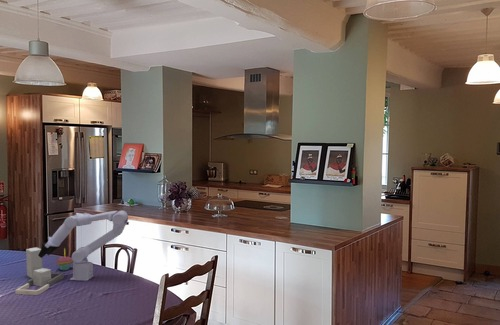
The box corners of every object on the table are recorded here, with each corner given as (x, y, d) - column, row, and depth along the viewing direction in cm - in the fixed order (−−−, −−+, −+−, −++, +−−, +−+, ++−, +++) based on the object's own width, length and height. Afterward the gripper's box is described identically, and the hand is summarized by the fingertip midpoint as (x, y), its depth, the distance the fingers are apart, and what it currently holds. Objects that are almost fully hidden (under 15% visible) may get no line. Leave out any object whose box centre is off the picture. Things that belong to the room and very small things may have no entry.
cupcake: (56, 268, 253) (56, 247, 252) (72, 266, 256) (72, 245, 256) (56, 272, 245) (56, 250, 244) (73, 270, 249) (73, 249, 248)
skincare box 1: (43, 277, 235) (43, 249, 235) (31, 279, 231) (31, 251, 231) (37, 273, 241) (37, 246, 241) (25, 275, 237) (25, 248, 237)
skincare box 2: (43, 281, 228) (43, 267, 228) (51, 283, 225) (51, 269, 225) (32, 285, 223) (32, 270, 223) (40, 287, 220) (40, 272, 220)
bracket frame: (49, 288, 218) (48, 284, 218) (37, 295, 208) (37, 291, 208) (27, 287, 219) (27, 283, 219) (15, 294, 209) (15, 290, 209)
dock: (63, 277, 235) (63, 273, 235) (48, 287, 220) (48, 282, 220) (43, 277, 236) (43, 272, 235) (27, 286, 221) (27, 281, 220)
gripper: (60, 228, 240) (44, 247, 240) (48, 232, 226) (30, 252, 226) (70, 237, 240) (54, 256, 240) (58, 241, 226) (41, 261, 225)
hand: (43, 255), depth 233 cm, fingers open, 7 cm apart
